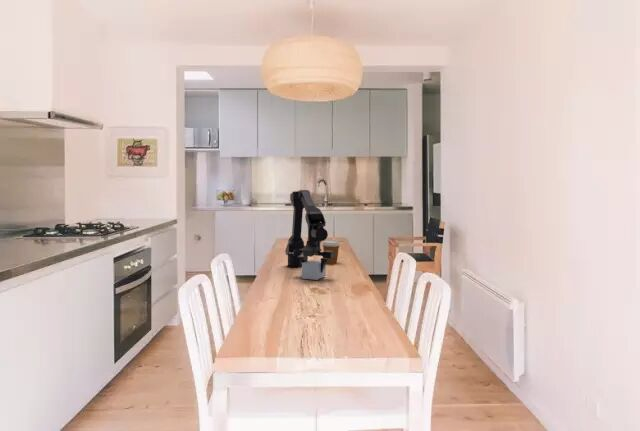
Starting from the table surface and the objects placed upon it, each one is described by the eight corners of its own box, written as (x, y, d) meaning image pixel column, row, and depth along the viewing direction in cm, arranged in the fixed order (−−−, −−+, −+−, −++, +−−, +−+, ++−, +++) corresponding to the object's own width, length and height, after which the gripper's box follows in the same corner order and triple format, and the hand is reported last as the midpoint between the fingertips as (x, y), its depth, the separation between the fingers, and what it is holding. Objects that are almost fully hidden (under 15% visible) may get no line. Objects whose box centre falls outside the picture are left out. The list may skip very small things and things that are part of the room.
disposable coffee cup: (339, 265, 261) (340, 242, 260) (321, 265, 261) (322, 242, 260) (339, 262, 271) (339, 240, 270) (322, 262, 271) (322, 240, 270)
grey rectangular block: (301, 278, 224) (301, 263, 224) (310, 274, 234) (310, 259, 233) (317, 279, 221) (317, 264, 221) (325, 275, 231) (325, 260, 230)
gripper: (288, 239, 222) (287, 273, 223) (326, 241, 215) (326, 276, 216) (298, 236, 232) (298, 269, 234) (335, 238, 225) (335, 272, 226)
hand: (313, 271), depth 227 cm, fingers closed on grey rectangular block, 7 cm apart
